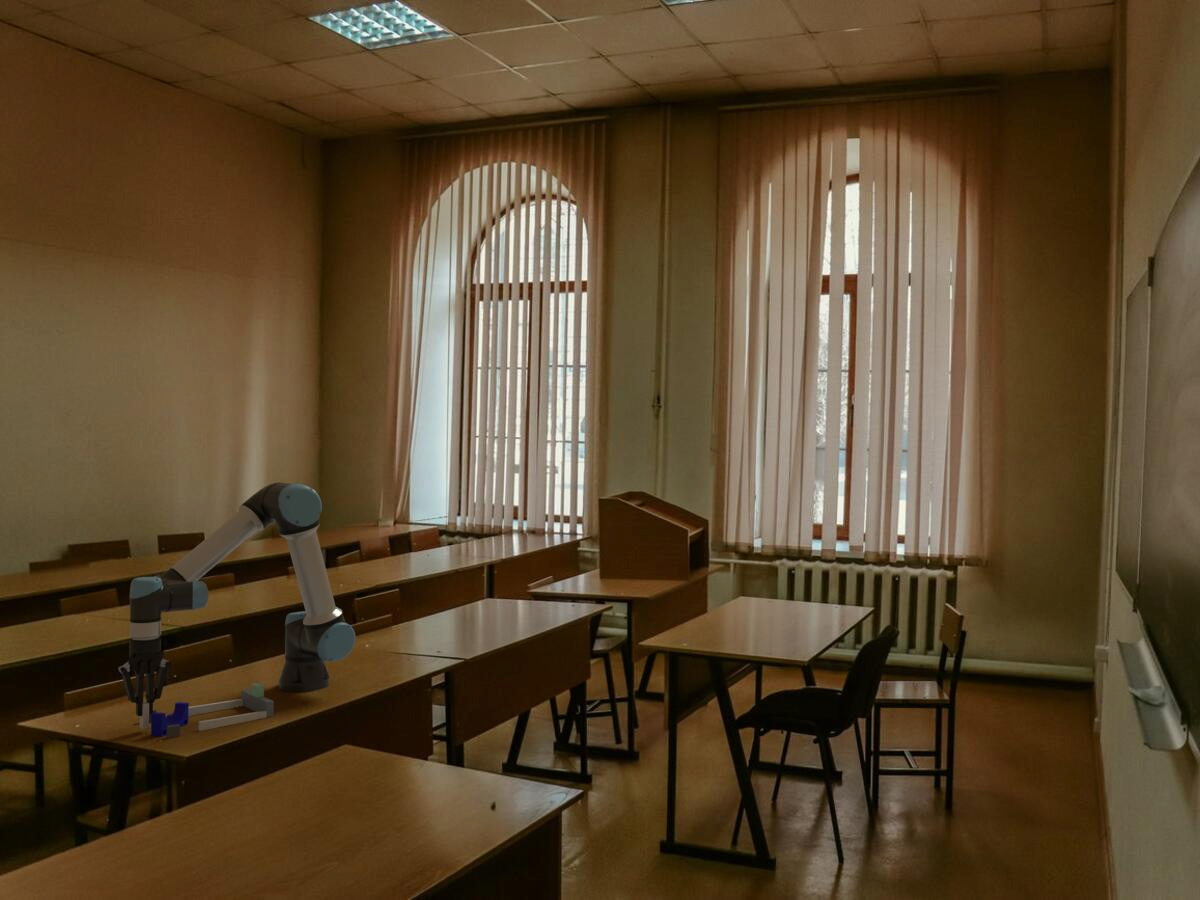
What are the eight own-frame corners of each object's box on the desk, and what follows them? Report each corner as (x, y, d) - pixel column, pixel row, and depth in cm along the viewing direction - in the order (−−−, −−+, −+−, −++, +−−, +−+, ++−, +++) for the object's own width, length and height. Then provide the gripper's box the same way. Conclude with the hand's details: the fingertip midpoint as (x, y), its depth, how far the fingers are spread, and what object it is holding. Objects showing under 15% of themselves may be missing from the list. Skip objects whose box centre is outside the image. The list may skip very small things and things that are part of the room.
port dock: (248, 706, 294) (248, 678, 294) (273, 719, 281) (273, 690, 281) (176, 717, 281) (177, 688, 281) (199, 732, 268) (200, 701, 268)
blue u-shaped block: (172, 723, 276) (173, 701, 276) (188, 725, 275) (188, 702, 275) (145, 736, 264) (146, 713, 264) (161, 737, 263) (162, 714, 263)
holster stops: (154, 720, 278) (154, 709, 278) (179, 736, 263) (180, 725, 263) (143, 722, 276) (143, 711, 276) (167, 738, 261) (168, 727, 261)
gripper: (166, 632, 274) (165, 720, 274) (114, 637, 265) (113, 728, 266) (176, 636, 268) (174, 726, 268) (123, 642, 260) (122, 735, 260)
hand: (144, 727), depth 267 cm, fingers closed
